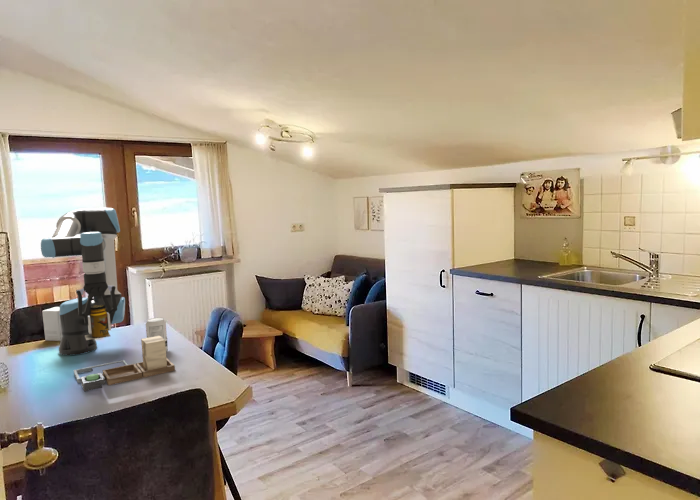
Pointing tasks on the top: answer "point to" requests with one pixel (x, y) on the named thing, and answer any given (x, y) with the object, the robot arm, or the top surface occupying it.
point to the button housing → (92, 383)
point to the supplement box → (52, 324)
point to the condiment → (98, 322)
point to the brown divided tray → (133, 372)
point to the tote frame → (92, 369)
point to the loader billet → (153, 353)
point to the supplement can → (157, 329)
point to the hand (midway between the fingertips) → (99, 331)
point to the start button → (92, 377)
